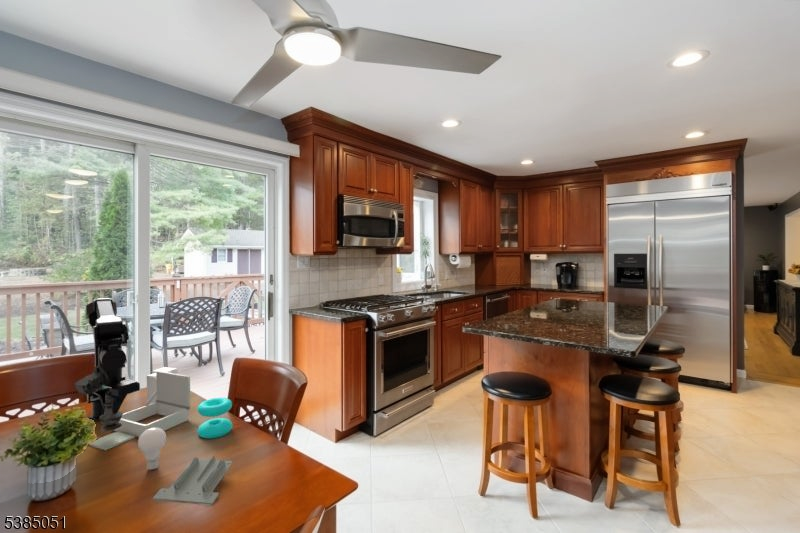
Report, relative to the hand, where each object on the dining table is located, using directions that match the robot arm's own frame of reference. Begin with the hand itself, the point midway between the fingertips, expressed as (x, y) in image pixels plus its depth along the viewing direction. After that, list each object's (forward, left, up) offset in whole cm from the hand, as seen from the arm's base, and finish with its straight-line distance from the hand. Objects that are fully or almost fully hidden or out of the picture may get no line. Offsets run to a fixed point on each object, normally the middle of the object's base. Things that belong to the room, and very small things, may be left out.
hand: (111, 412), depth 117 cm
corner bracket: (-14, +27, -9) cm, 32 cm away
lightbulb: (+27, -6, -9) cm, 29 cm away
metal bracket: (+45, -6, -10) cm, 46 cm away
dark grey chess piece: (0, 0, -5) cm, 5 cm away
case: (0, +12, -9) cm, 15 cm away
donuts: (+25, +16, -9) cm, 31 cm away
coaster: (0, 0, -9) cm, 9 cm away
